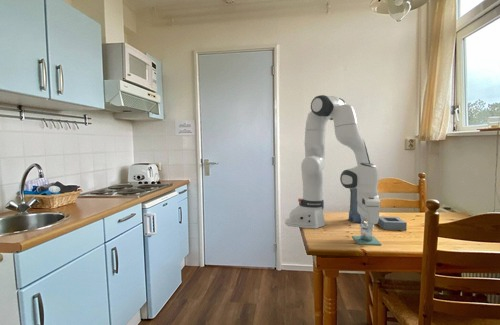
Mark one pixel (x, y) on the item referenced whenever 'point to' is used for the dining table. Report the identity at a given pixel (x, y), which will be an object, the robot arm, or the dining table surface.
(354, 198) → the bottle
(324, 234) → the dining table surface
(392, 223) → the housing
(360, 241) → the mat
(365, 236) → the end cover
